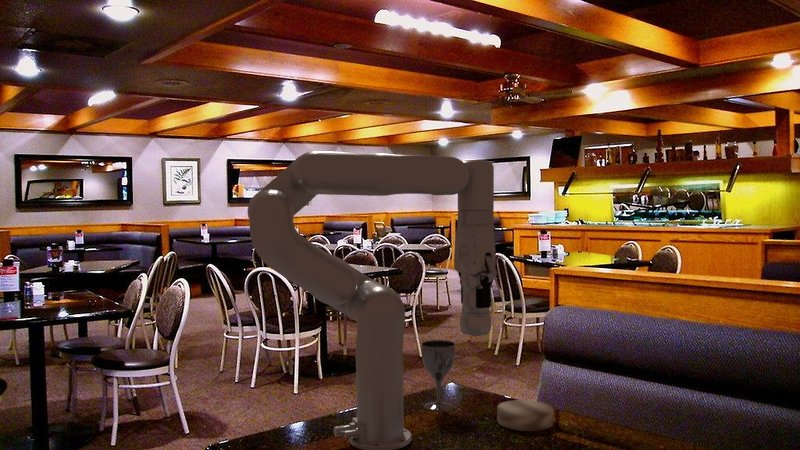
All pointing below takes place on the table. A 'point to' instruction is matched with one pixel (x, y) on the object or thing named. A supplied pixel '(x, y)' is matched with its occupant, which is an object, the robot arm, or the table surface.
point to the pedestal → (525, 415)
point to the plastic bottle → (473, 306)
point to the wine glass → (438, 367)
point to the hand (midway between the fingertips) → (475, 304)
